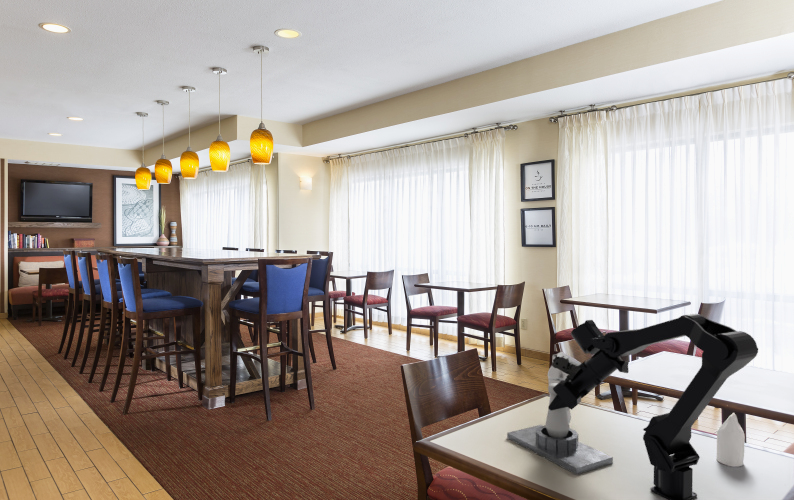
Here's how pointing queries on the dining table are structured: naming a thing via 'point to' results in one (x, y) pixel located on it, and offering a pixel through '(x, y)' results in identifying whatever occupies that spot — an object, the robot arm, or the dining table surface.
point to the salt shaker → (556, 418)
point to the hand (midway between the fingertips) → (551, 406)
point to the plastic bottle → (557, 381)
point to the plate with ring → (561, 449)
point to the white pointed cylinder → (730, 442)
